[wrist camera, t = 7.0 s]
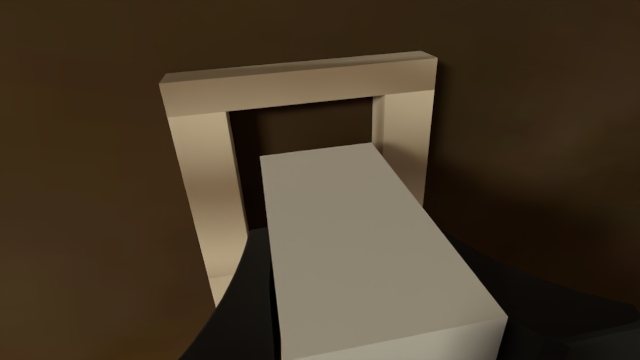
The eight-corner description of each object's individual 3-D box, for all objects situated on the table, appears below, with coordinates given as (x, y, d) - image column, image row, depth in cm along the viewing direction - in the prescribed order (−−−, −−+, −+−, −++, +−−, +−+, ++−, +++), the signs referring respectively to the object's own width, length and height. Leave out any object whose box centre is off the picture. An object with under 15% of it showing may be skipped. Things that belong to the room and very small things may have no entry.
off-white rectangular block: (368, 261, 16) (464, 472, 9) (276, 277, 16) (306, 513, 9) (371, 142, 14) (508, 317, 7) (259, 156, 13) (283, 361, 6)
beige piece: (396, 363, 25) (472, 551, 17) (244, 395, 24) (247, 617, 16) (421, 50, 15) (628, 138, 7) (166, 73, 14) (64, 214, 6)
